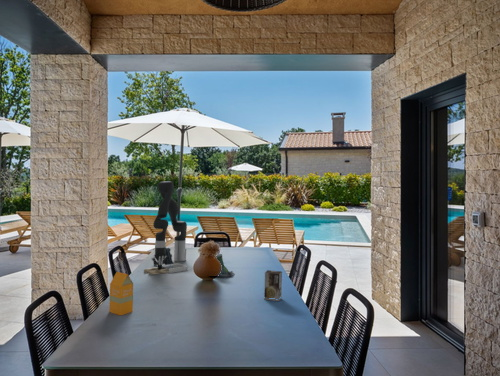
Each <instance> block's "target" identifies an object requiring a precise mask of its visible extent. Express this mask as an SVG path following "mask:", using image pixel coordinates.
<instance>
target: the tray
mask: <svg viewBox="0 0 500 376" xmlns="http://www.w3.org/2000/svg"><path fill="white" fill-rule="evenodd" d="M163 265H164V264H162V266H163ZM168 265H174V266H173V268H171V269H169V271H168V272H167V274H173V273H179V272H185V271H188V266H187V265H185V264H183V263H179V262H178V263H174V264H168Z"/></svg>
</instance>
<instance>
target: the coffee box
mask: <svg viewBox="0 0 500 376" xmlns="http://www.w3.org/2000/svg"><path fill="white" fill-rule="evenodd" d="M282 281H283V272H282V271H278V270H269V269H268V270H266V271H265V272H264V293H263V295H264V297H265V298H264V297H263V298H264V300H266V301H274V302H280V301H281V300H282V284H283V282H282ZM280 297H281V298H280ZM269 298H275V299H269ZM279 298H280V299H279ZM276 299H279V300H276Z"/></svg>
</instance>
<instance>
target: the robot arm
mask: <svg viewBox="0 0 500 376" xmlns="http://www.w3.org/2000/svg"><path fill="white" fill-rule="evenodd" d="M157 187H158V192H159V194H160V196H161V198H162V201H161V202H160V203H159V206H158V211H157V214H156V217H155V219H154V221H153V228H154V229H156V230H162V231H159V232H156V233H155V243H154V256H153V257H151V261H153V262H154V263H155V264H157V265H156V266H157V267H158V270H161V269H162V265H165V264H164V263H165V262H166V260H167V259H168V257H167V256H166V254H165V248H167V246H166V233H167V231H168V230H167V229H168V227H169V221H168V220H167V219H166V218H167V217H168V216H169V218H170V222H171V227H172V230H173V231H174V232H176V233H180V234H178V235H176V236H174V243H173V244H174V246H173V247H174V249H173V261H174V262H184V261H187V248H186V242H187V241H186V237H187V229H188V225H187V222H186V221H184V220H183V221H182V220H178V219H177V217H178V214H179V211H180V207H179V205H178V202H177V201H176V200H175V199H173V194H174V189H175V186H174V183H173V181H170V180H169V181H160V182H158V184H157ZM154 263H153V264H154Z"/></svg>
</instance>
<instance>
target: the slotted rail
mask: <svg viewBox="0 0 500 376" xmlns="http://www.w3.org/2000/svg"><path fill="white" fill-rule="evenodd" d="M168 272H169V271H168V269H161V270H158V266H155V267H152V268H151V267H150V268H144V270H143V273H145V274H146V273H147V274H148V275H149V276H152V275H159V274H160V275H161V274H166V273H167V274H168Z"/></svg>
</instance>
